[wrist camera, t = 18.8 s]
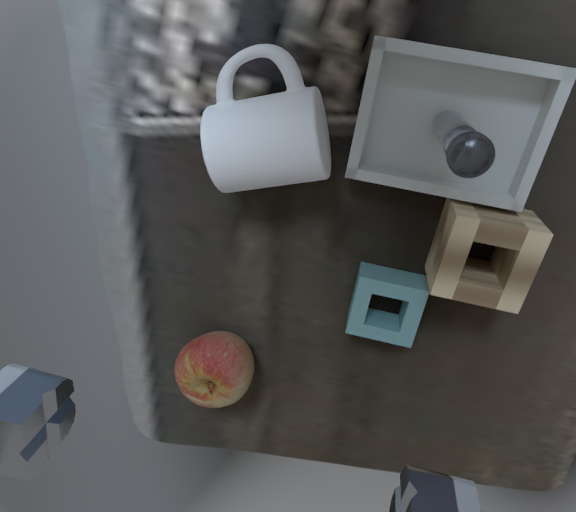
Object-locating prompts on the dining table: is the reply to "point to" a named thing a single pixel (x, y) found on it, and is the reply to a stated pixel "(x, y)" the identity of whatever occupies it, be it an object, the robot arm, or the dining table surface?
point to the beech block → (503, 264)
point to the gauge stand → (390, 285)
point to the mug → (265, 130)
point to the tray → (469, 104)
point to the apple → (215, 369)
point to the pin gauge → (463, 145)
